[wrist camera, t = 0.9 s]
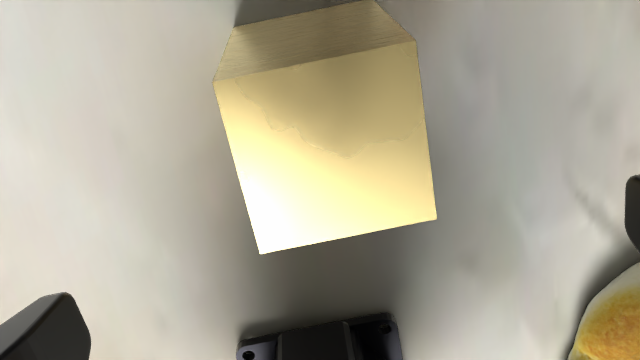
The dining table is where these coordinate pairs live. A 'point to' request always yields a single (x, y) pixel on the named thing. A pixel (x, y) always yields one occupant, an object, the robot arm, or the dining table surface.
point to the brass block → (326, 125)
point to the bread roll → (611, 321)
